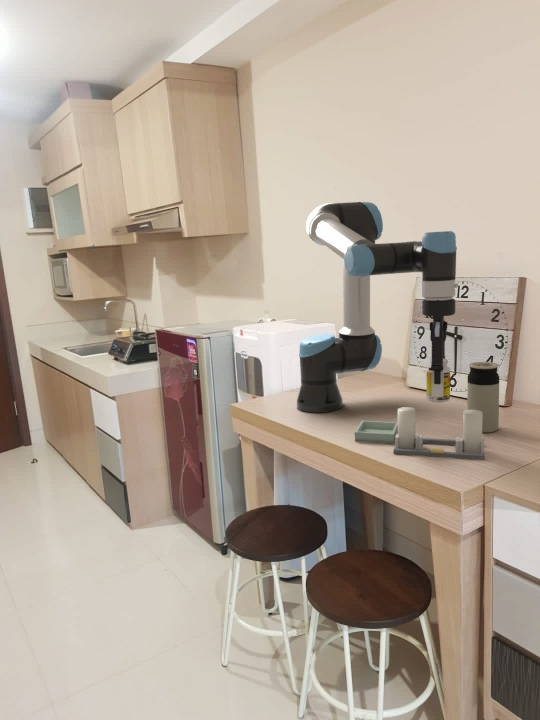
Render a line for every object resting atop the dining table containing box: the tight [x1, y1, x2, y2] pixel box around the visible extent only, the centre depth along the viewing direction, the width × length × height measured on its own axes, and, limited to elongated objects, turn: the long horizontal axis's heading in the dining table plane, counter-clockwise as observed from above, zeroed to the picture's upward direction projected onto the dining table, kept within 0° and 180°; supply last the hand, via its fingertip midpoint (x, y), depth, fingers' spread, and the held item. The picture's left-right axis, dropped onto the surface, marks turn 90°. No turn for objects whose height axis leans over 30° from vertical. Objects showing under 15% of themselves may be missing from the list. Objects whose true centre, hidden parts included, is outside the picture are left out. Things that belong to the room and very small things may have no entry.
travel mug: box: [466, 361, 500, 434], centre depth 148 cm, size 8×8×18 cm
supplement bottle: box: [425, 358, 451, 404], centre depth 133 cm, size 6×6×10 cm
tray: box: [354, 420, 398, 444], centre depth 148 cm, size 10×10×2 cm
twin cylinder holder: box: [392, 406, 485, 461], centre depth 135 cm, size 21×10×10 cm, turn 70°
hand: (438, 392), depth 133 cm, fingers closed on supplement bottle, 6 cm apart
